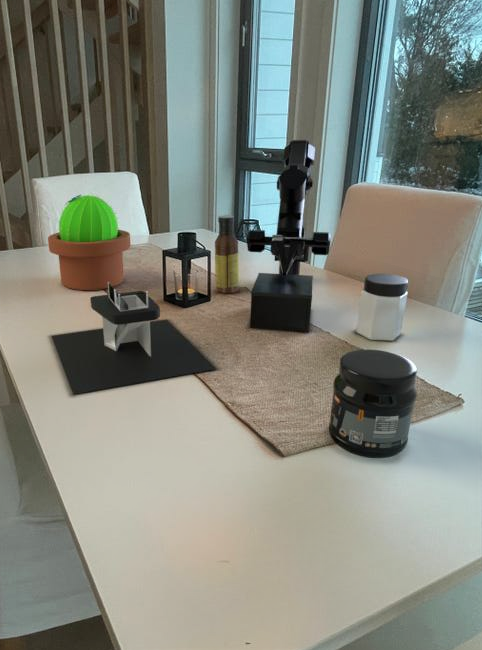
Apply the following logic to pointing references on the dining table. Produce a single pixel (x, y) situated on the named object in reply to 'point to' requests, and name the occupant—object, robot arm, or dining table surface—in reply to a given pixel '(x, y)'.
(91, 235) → the potted cactus
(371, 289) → the jar
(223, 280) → the sauce bottle
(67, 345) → the black-topped pedestal
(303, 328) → the black storage bin
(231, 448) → the dining table surface
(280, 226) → the robot arm
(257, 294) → the bin lid
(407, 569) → the dining table surface
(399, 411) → the supplement container
